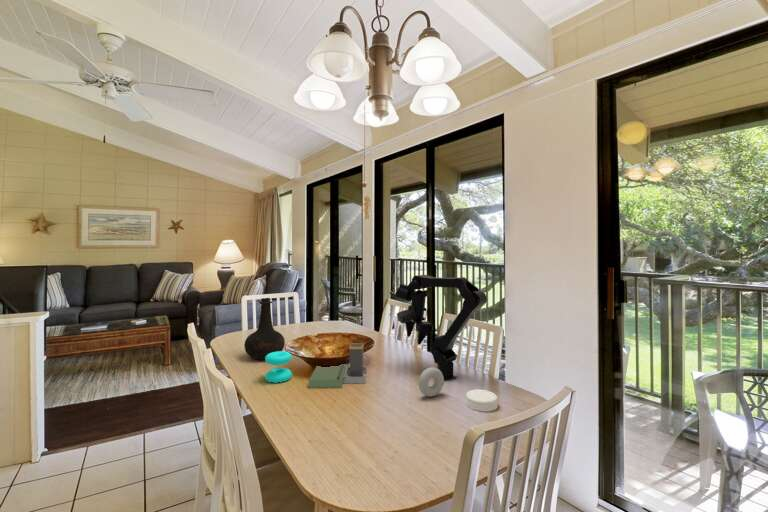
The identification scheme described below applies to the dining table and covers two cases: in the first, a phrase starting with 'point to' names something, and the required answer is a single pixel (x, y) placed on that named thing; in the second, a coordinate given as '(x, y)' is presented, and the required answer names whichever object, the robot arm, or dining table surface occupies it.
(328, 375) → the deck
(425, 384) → the donut
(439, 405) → the dining table surface
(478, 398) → the white round disc
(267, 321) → the dark bulbous vase
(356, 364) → the grey tan rectangular block
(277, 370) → the donuts
